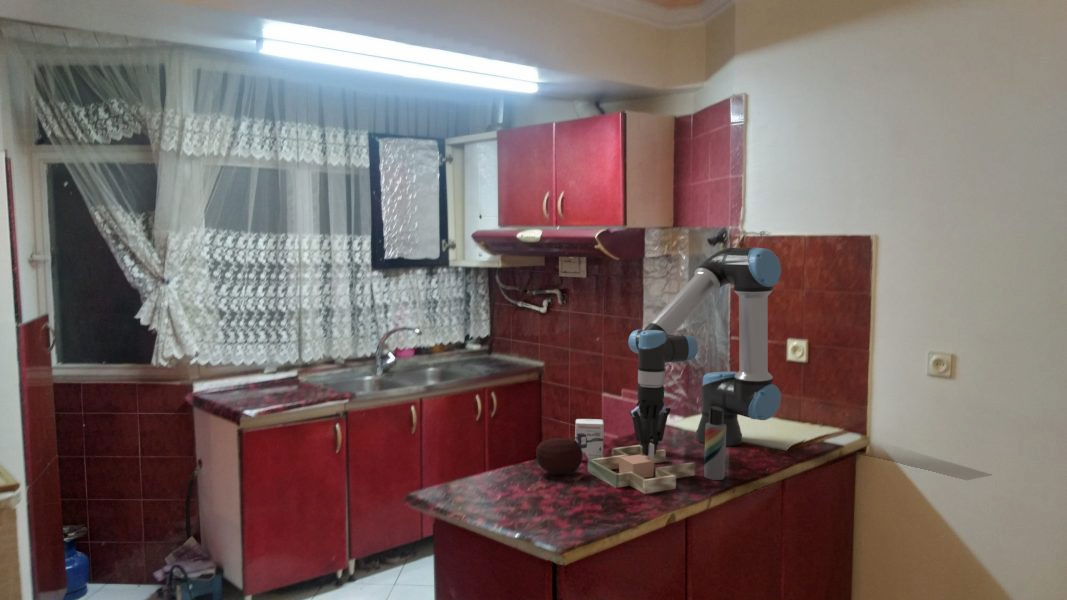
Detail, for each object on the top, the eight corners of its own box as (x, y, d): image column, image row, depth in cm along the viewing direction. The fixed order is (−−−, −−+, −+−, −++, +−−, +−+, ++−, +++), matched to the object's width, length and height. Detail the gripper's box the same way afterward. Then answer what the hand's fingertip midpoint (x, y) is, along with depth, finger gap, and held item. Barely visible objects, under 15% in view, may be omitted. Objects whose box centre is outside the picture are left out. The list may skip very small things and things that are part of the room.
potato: (536, 467, 209) (536, 432, 209) (581, 468, 209) (582, 433, 208) (535, 479, 198) (535, 443, 198) (582, 481, 198) (583, 444, 197)
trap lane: (649, 454, 224) (650, 443, 224) (711, 482, 198) (711, 470, 198) (575, 464, 212) (575, 453, 212) (630, 496, 186) (630, 483, 186)
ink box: (574, 461, 216) (575, 422, 215) (574, 456, 221) (575, 418, 220) (603, 462, 216) (603, 423, 215) (602, 457, 221) (603, 419, 220)
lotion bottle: (710, 472, 207) (713, 404, 205) (728, 477, 203) (730, 407, 201) (699, 476, 203) (702, 407, 201) (717, 481, 199) (720, 410, 197)
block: (639, 469, 209) (639, 454, 209) (653, 476, 203) (653, 461, 202) (619, 472, 206) (619, 457, 206) (632, 479, 200) (633, 464, 199)
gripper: (661, 380, 210) (659, 459, 212) (624, 384, 205) (622, 465, 207) (677, 385, 204) (675, 467, 206) (639, 388, 198) (637, 472, 200)
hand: (648, 465), depth 206 cm, fingers closed
